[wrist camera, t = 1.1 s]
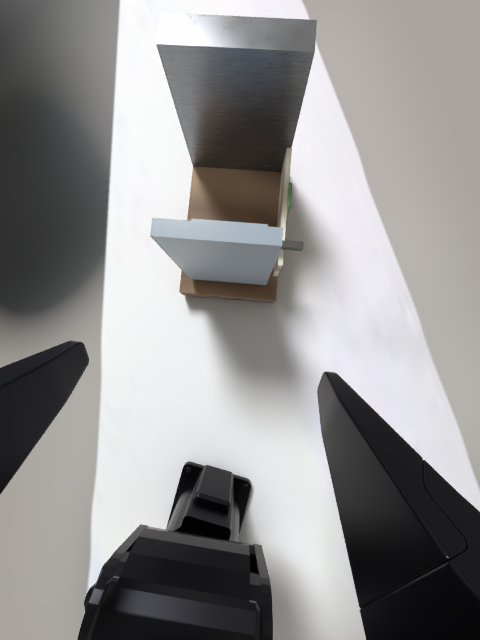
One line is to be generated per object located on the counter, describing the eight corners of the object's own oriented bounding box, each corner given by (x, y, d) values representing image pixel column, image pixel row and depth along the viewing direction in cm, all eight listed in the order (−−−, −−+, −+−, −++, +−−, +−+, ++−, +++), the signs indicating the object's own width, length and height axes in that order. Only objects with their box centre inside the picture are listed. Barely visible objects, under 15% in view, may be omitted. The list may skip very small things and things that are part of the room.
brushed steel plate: (285, 172, 22) (314, 51, 13) (193, 166, 23) (156, 43, 13) (286, 153, 23) (316, 20, 13) (195, 147, 23) (160, 12, 13)
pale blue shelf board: (291, 287, 21) (325, 249, 12) (190, 279, 22) (150, 236, 12) (294, 245, 22) (330, 176, 12) (195, 237, 22) (158, 165, 13)
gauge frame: (276, 302, 23) (284, 293, 18) (183, 295, 23) (168, 284, 19) (286, 164, 24) (296, 122, 19) (198, 159, 24) (187, 116, 20)
